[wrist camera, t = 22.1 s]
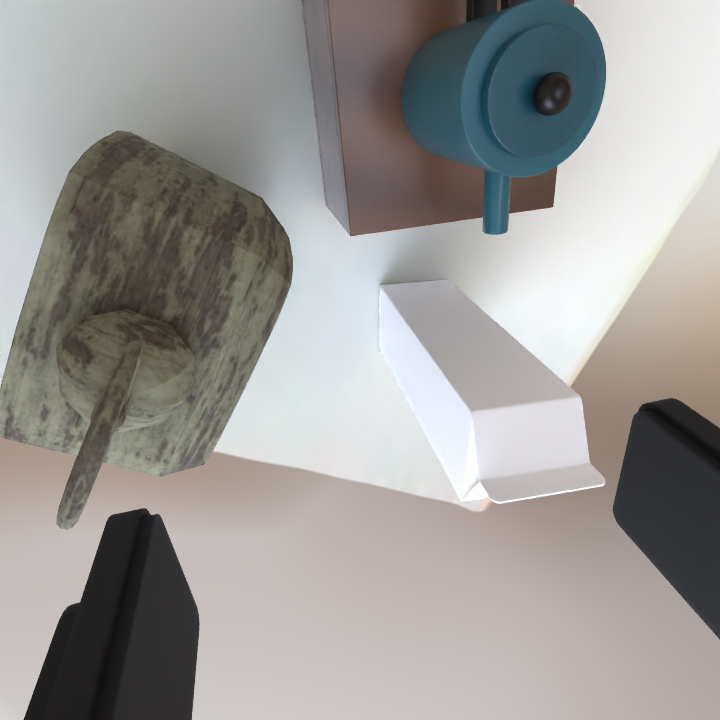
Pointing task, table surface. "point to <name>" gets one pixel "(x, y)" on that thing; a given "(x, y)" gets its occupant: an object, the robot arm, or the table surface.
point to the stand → (389, 120)
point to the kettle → (506, 92)
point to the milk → (482, 397)
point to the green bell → (142, 315)
